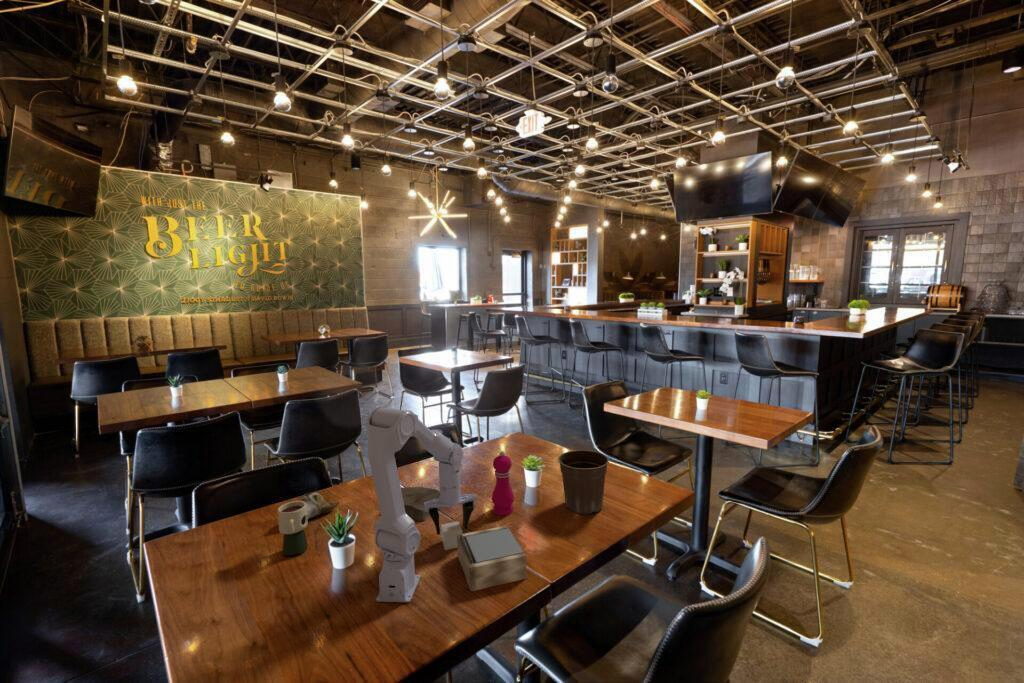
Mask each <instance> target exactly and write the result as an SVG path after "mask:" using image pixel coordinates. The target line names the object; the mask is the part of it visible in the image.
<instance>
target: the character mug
mask: <svg viewBox="0 0 1024 683" xmlns="http://www.w3.org/2000/svg"><path fill="white" fill-rule="evenodd" d="M277 520H278V530H279V533H280V534H282V535H283V536H282V537H283V539H282V540H283V541H282V554H283V555H286V556H287V555H288V556H292V555H293V556H294V555H298V554H302V553H303V552H306V550H307V549H308V545H309V544H308V540H307V535H306V532H305V529H306V528H307V527H308V520H307V509H306V503H305V502H303V501H300V500H295V501H293V500H292V501H289V502H286V503H284V504H282V505H279V507H278V508H277Z"/></svg>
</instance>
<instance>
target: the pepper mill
mask: <svg viewBox="0 0 1024 683" xmlns="http://www.w3.org/2000/svg"><path fill="white" fill-rule="evenodd" d="M512 465H513V464H512V459H511V458H510V456H507V455H506V454H505V451H503V450H501V451H500V452H499V455H497V456H495V457H494V459H493V460H492V467H493V469H494V476H495V477H496V479H495V481H496V482H495V487H494V489H493V491H492V494H491V501H492V503H493V513H494V514H495V515H498V516H501V517H502V516H508V515H509V516H510V515H511V514H512V513H513V511H514V506H513V504H514V501H515V494H514V491H513V489H512V487H511V484H510V476H511V470H510V469H511V468H512Z"/></svg>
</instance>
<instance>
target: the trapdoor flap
mask: <svg viewBox="0 0 1024 683" xmlns="http://www.w3.org/2000/svg"><path fill="white" fill-rule="evenodd" d="M466 542H467V544H468V546H469V549H470V551H471V554H472V556H471V557H472V559H473V562H474V564H476V563H481V562H485V561H490V560H494V559H499V558H504V557H508V556H513V555H518V554H522V553H524V551H523V549H522V547H521V545H520V544H519V542H518V541H517V539H516V538H515V536H514V534H513V532H512V531H511V530H510V528H509V527H508V529H502V530H497V531H492V532H487V533H482V534H477V535H472V536H467V537H466ZM524 554H525V553H524Z"/></svg>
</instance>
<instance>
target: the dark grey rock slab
mask: <svg viewBox="0 0 1024 683" xmlns="http://www.w3.org/2000/svg"><path fill="white" fill-rule="evenodd" d="M401 492H402V497H403V502H404V507H405V512H406V514H407V515H408V516H409V517H410V518H411V519H412V520H413V521H418V522H419V521H420V522H424V521H425V520H426V519H427V518H426V517H428V516H430V514H429V511H428V512H425V510H424V502H428V501H431V500H434V499H437V498H440V490H438V489H434V488H432V487H431V488H430V487H429V488H428V487H423V486H411V487H410V486H405V487H401Z"/></svg>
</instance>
